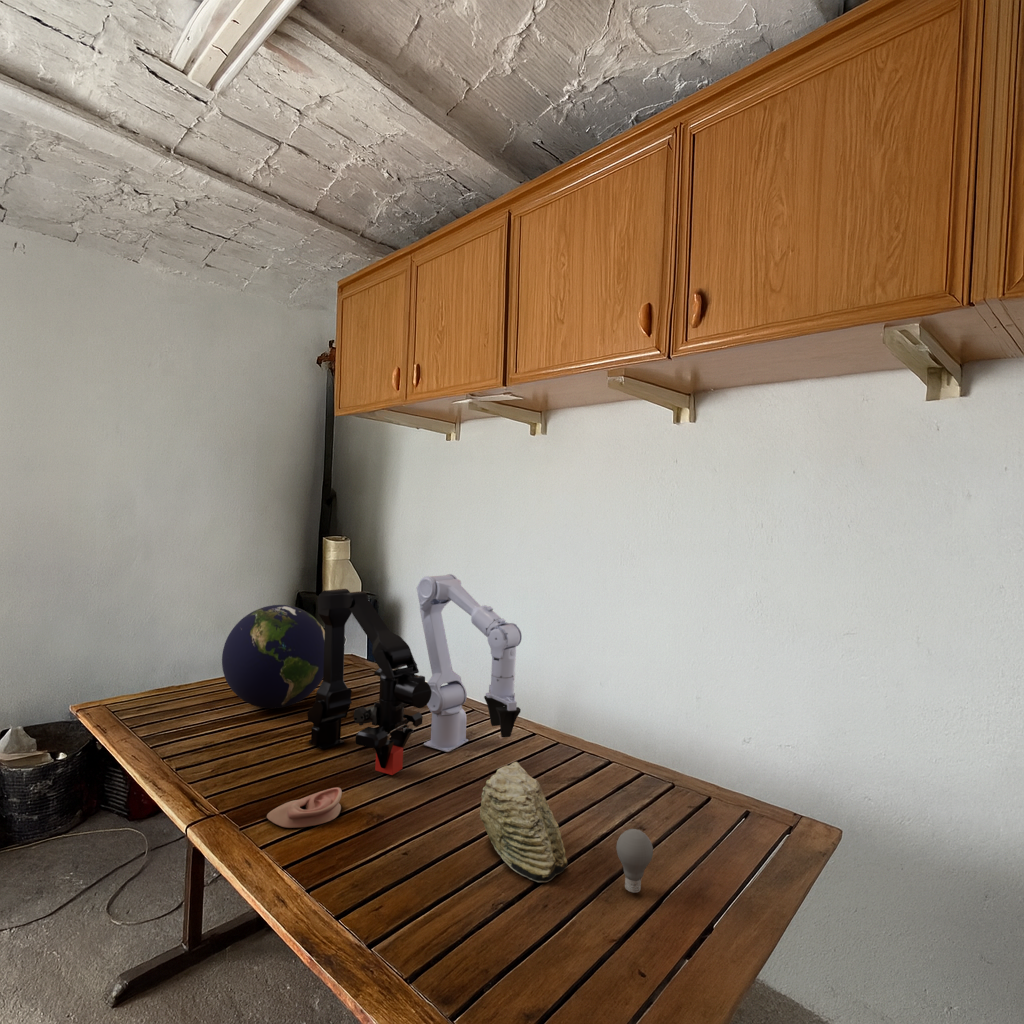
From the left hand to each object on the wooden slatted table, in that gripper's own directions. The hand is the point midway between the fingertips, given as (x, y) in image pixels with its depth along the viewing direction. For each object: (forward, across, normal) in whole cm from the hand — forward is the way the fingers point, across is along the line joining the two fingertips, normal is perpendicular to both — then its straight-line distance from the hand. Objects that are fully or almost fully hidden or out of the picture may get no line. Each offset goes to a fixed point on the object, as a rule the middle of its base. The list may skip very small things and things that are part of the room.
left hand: (389, 764), depth 146 cm
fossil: (+2, +17, +40) cm, 44 cm away
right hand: (-7, -16, +20) cm, 27 cm away
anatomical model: (+2, +24, -3) cm, 24 cm away
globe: (+2, -21, -55) cm, 59 cm away
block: (+1, 0, 0) cm, 1 cm away
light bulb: (+2, +17, +61) cm, 64 cm away
